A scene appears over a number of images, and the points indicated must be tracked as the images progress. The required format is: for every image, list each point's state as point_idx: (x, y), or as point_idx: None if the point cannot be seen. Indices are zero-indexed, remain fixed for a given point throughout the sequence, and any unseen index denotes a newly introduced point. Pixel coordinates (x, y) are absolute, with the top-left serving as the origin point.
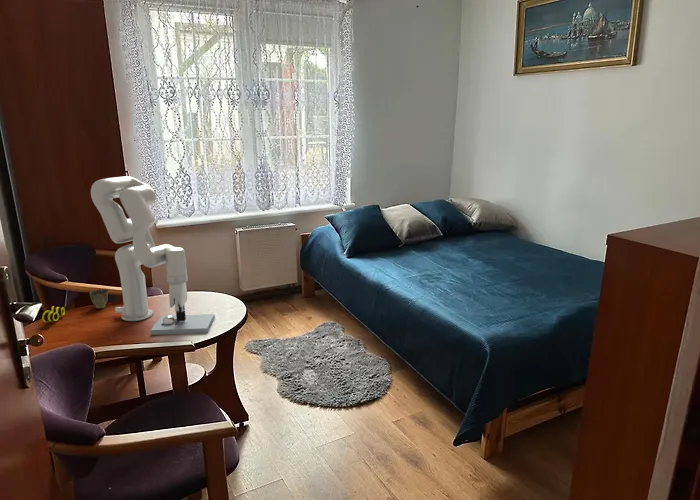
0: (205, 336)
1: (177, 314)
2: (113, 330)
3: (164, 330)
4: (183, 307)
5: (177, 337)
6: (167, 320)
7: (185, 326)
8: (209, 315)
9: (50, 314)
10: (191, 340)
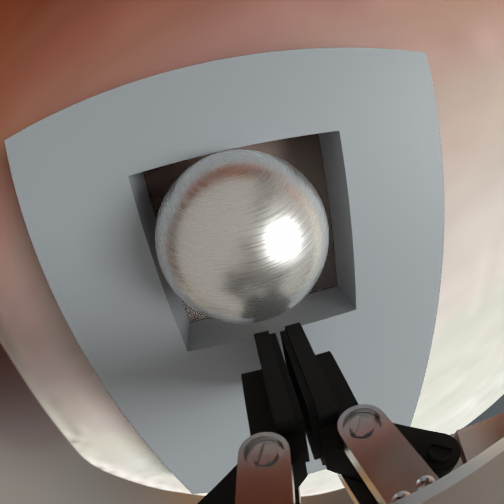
0: (149, 472)
1: (270, 405)
2: None
3: (51, 278)
4: (349, 491)
5: (68, 373)
6: (167, 272)
7: (178, 416)
8: None
9: None
10: (80, 439)
